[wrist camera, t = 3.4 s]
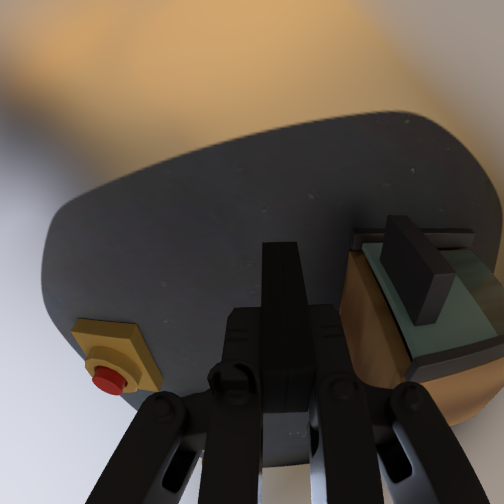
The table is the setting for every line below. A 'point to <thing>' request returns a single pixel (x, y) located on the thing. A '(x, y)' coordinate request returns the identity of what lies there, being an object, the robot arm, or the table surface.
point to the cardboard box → (395, 346)
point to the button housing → (118, 352)
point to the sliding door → (425, 291)
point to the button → (109, 380)
